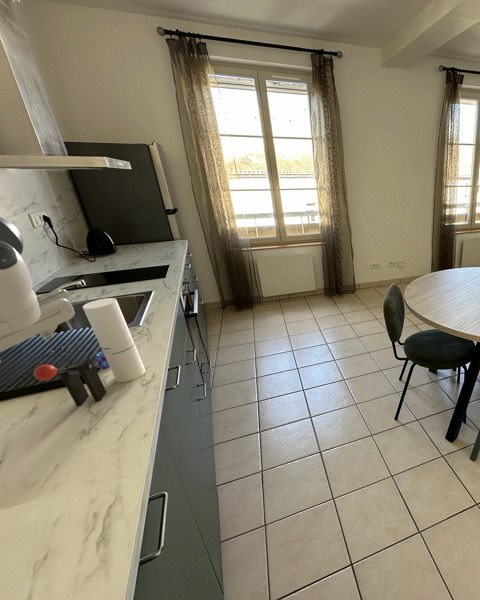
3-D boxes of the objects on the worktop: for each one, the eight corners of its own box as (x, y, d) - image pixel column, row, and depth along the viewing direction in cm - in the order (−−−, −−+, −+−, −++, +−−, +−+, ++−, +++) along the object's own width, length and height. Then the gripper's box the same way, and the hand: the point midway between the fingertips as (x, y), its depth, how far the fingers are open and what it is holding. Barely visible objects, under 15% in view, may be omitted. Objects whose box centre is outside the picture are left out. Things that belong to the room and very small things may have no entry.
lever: (50, 378, 74) (48, 363, 74) (30, 383, 73) (27, 367, 73) (89, 373, 87) (87, 360, 87) (72, 377, 86) (70, 363, 86)
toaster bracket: (104, 411, 86) (83, 371, 81) (61, 422, 83) (37, 380, 78) (122, 385, 96) (104, 348, 91) (84, 394, 93) (64, 355, 89)
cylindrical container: (129, 371, 103) (97, 298, 93) (151, 370, 103) (122, 297, 93) (111, 385, 96) (75, 309, 86) (135, 385, 96) (102, 308, 86)
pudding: (96, 361, 110) (90, 348, 108) (139, 352, 114) (133, 339, 112) (81, 381, 100) (74, 366, 98) (129, 369, 104) (123, 355, 102)
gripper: (55, 278, 74) (63, 316, 82) (-83, 329, 57) (-55, 371, 65) (78, 294, 74) (84, 331, 82) (-53, 350, 57) (-29, 389, 65)
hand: (22, 349), depth 73 cm, fingers open, 8 cm apart
